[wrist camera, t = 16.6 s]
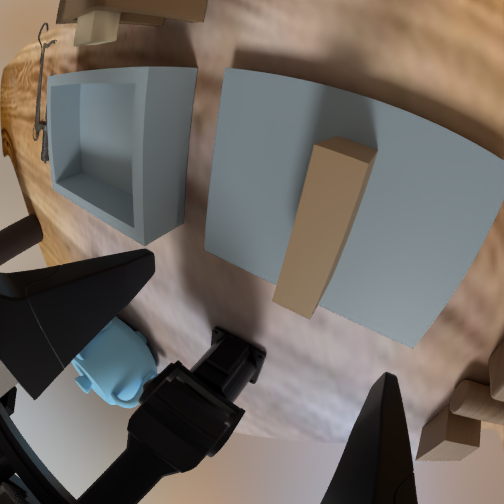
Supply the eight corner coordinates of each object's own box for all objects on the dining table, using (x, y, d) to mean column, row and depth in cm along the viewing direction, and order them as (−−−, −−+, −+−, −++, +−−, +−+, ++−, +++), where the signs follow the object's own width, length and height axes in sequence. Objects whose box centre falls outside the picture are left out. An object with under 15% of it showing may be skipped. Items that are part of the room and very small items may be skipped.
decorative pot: (141, 371, 54) (98, 412, 43) (95, 309, 51) (45, 347, 40) (182, 376, 43) (129, 433, 33) (123, 296, 40) (56, 348, 30)
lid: (414, 329, 20) (405, 396, 15) (218, 238, 26) (167, 276, 20) (504, 161, 11) (547, 190, 6) (242, 69, 17) (177, 63, 12)
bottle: (45, 245, 54) (-21, 287, 39) (33, 229, 55) (-30, 267, 40) (41, 224, 49) (-31, 267, 34) (30, 208, 50) (-38, 246, 35)
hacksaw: (51, 164, 37) (44, 167, 36) (32, 146, 39) (25, 148, 38) (65, 20, 22) (56, 20, 21) (43, 23, 25) (36, 23, 23)
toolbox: (183, 223, 26) (101, 273, 19) (84, 176, 32) (22, 203, 25) (211, -11, 14) (107, -39, 7) (90, 18, 20) (17, 23, 13)
